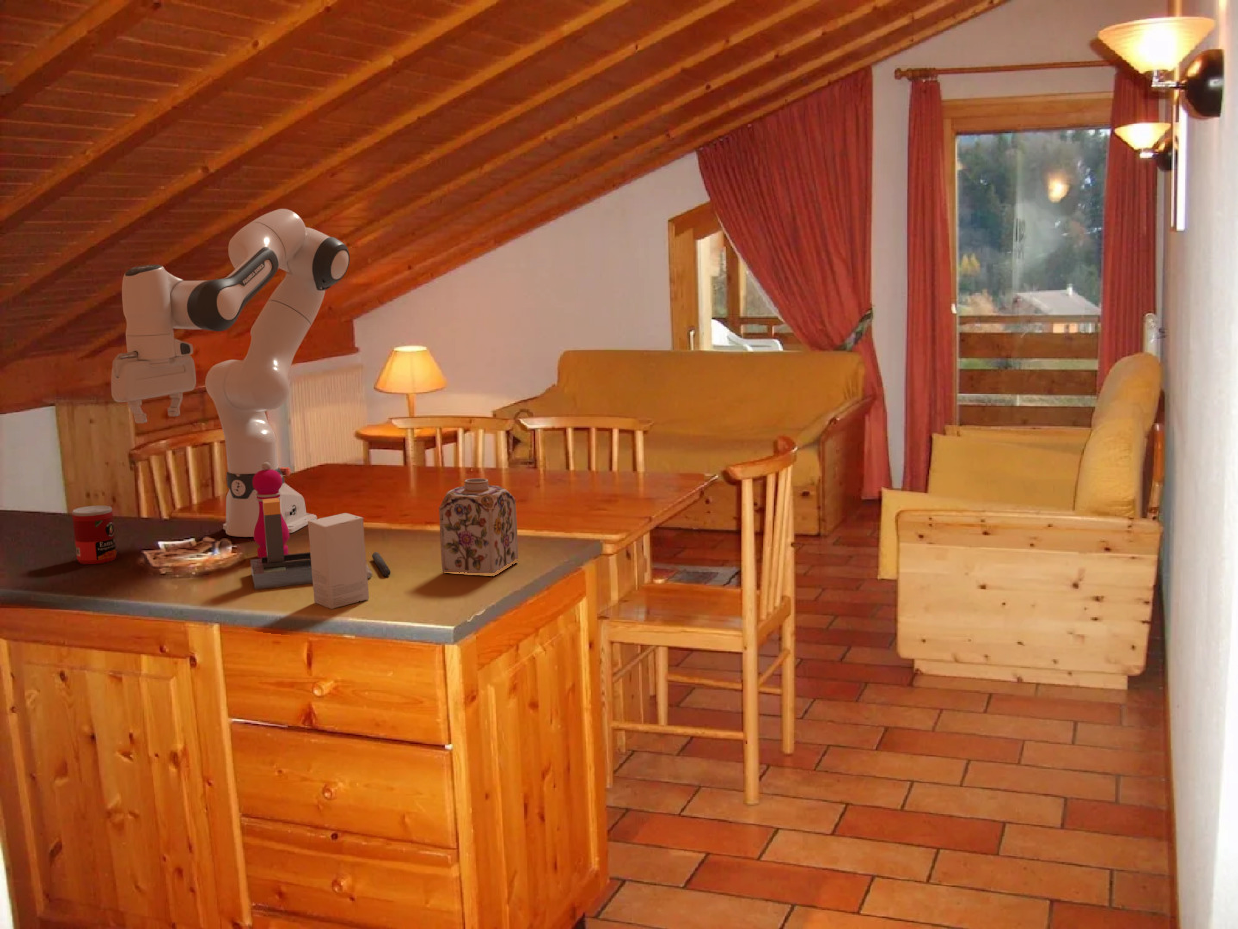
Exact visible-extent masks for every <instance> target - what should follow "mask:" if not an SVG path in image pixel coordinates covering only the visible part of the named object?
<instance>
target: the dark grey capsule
mask: <svg viewBox="0 0 1238 929" xmlns="http://www.w3.org/2000/svg"><path fill="white" fill-rule="evenodd" d="M371 558H372V559H373V561H374V563H375V565H376V566H377V567H378V570H380V572H381V574H382V576H384V577H389V576H390V575H391V572H392V571H391V570H390V568H389V566H388V564H387V563H386V562H385V560H384V559H383V557H382V556H381V554H380V552H377V551H375V552H373V553H372V555H371ZM366 566H367V579H371V577H372V576H373V572H372V571H371V569H370V567H369V566H368V563H366Z"/></svg>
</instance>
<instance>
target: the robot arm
mask: <svg viewBox="0 0 1238 929" xmlns="http://www.w3.org/2000/svg"><path fill="white" fill-rule="evenodd" d="M227 252H228V257H229V260H230V263H231V264H232V266H233V268H234V269H233V271H232V272H231V273H230V274H228V275H227V276H226V277H224V278H219V279H218V278H217V279H216V278H215V279H208V280H184V279H182V278H180V277H178V276H175V275H173V274H171V273H170V272H168V271H167V270H166V269H165V267H164V266H163V265H160V264H145V265H140V266H135V267H131V268H129V269H128V270H127V271H125V272H124V274H123V278H122V283H121V284H122V285H121V298H122V299H121V301H122V310H123V311H122V312H123V316H124V317H125V321H126V329H125V339H126V340H125V342H126V350H127V352H121V353H118V354H117V355H116V356H115V357H114V360H112V369H111V377H110V379H111V380H110V383H111V384H110V386H111V388H110V389H111V390H110V391H111V397H112V399H113V400H114V401H115V402H117V403H127V404H128V407H129V409H130V411H131V413H132V414H133V417H134V418H133V419H134V423H135V424H145V423H147V422H148V418H147V415H148V414H147V413H145V412H143V410H142V407H141V406H142V405H143V401H142V400H146V399H147V400H148V399H152V398H158V397H164V396H168V395H169V398H170V399H171V400H170V406H169V407H167V415H168V417H178V416H180V415H181V410H180V407H181V404H182V401H183V399H184V395H183V393H185V392H190V391H193V390H195V388H196V385H197V376H196V374H197V373H196V367H195V366H196V365H195V361H194V359H193V357H192V356H191V355H192V354H194V347H193V344H192V343H190V342H186V341H183V340H180V339H177V338H175V333H174V332H175V331H174V329H178V330H179V329H180V330H184V329H185V330H205V331H211V332H213V331H214V332H223V331H224V332H225V331H226V330H229V329H230V328H231V327H232V326H234V324H235V323H236V322H237V320H238V319H239V316H240V315H241V312H242V311H243V309H244V308H245V307H246V305H247V304H248V303H249V302H250V300H252V299H253V298H254V297H255V296H256V295H257V294H258V293H259V292H260V291H261V290H262V289H263V288H264V287H265V286H266V285H267V284H268V283H269V282H270V281H271V280H272V279H273V278H274V276H275V275H276V273H277V272H278V269H280V270H282V271H284V272H285V273H286V274H285V276H284V278H283V279H282V280H281V282H280V283H278V285H277V286H276V288H275V289H274V291H273V292H272V293H271V295H270V297H269V298H268V300H267V301H266V303H265V304H264V306H263V308H262V310H261V311H260V312H259V315H258V316H257V318H256V319H255V321H254V323H253V325H252V326H251V329H250V337H251V340H250V344H249V347H248V350H247V352H246V353H247V354H246V356H245V357H244V359H242V360H241V359H240V360H239V359H228V360H224V361H221V362H219V363H216V364H215V365H213V366H212V367H211V368H210V369H209V370H208V372H207V374H206V376H205V381H204V382H205V383H204V384H205V389H206V393H207V395H208V396H209V397H210V398H211V400H212V402H213V403H214V406H215V409H216V411H217V412H216V413H217V415H218V418H219V421H220V425H221V429H222V431H223V437H224V441H225V449H226V460H227V461H226V462H227V471H226V478H225V479H226V486H227V489H228V492H227V494H226V497H225V499H226V500H225V523H223V524H222V527H223V530H224V531H225V534H226V535H228V536H232V537H240V538H241V537H243V538H248V537H251V538H252V537H253V538H254V530H255V526H256V523H257V520H258V517H259V501H257V500H256V498H257V496H256V494H257V493H258V492H257V491H256V490H255V489H254V487H253V482H252V481H253V477H254V475H255V474H256V473H257V472H259V471H261V470H263V469H262V464H263V463H264V462H268V463H269V464H270V465H271V467H270V469H271V470H275V471H277V472H278V473H279V474H280V475H281V477H282V486H281V488H280V489H279V492H281V494H280V496H281V498H280V499H279V501H280V510H281V514H282V517H283V519H284V521H285V522H286V524H287V527H288V529H289V534H293V533H294V532H296V531H298V530H300V529H302V528H304V527H306V526H308V521H310V520H315V519H318V517H317V515H316V514H314V513H309V512H307V509H306V503H305V498H304V497H303V495H302V494H300V493H299V492H298V491H296V490H295V489H294V488H292V487H290V485H288V484H287V483H286V482H285V481H286V480H285V478H284V476H285V477H289V476H290V475H291V471H292V470H291V468H290V467H289V466H288V467H283V466H281V467H279V459H278V446H277V437H276V433H275V431H274V429H273V428H272V427H271V424H270V422H269V421H268V418H267V414H266V412H268V411H272V410H276V409H278V408H280V407H281V406H282V405H284V403H285V402H286V401H287V399H288V398H289V394H290V381H289V375H290V371H291V368H292V367H291V366H292V364H293V360H294V358H295V355H296V353H297V351H298V349H299V347H300V346H301V345H302V343H303V340H304V338H305V337H306V335H307V333H308V332H309V331H310V328H311V326H312V325H313V323H314V322H315V319H316V317H317V315H318V313H319V310H320V308H321V306H322V303H323V301H324V298H325V295H326V291H327V290H328V289H330V288H331V287H332V286H334V285H335V284H337V283H339V281H341V280H342V279H343V278H344V277H345V275H346V273H347V271H348V269H349V266H350V261H351V260H350V259H351V257H350V252H349V248H348V246H347V245H346V244H345V243H343V241H341V240H339V239H338V238H336V237H333V236H330V235H328V234H326V233H323V232H321V231H319V230H316V229H315V228H311V227H306V225H305V222H304V221H303V219H302V217H300V215H298V214H297V213H296V212H294V211H293V210H290V209H288V208H278V209H276V210H272V211H269V212H267V213H265V214H263V215H260V216H259V217H257V218H255V219H254V220H252V221H250V222H249V223H247V224H246V225H244V226H243V227H242V228H240V229H239V230H238V231H237V232H235V234H234V235H233V236H232V237H231V238H230V240H229V243H228V251H227Z"/></svg>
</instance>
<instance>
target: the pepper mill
mask: <svg viewBox="0 0 1238 929" xmlns="http://www.w3.org/2000/svg"><path fill="white" fill-rule="evenodd" d="M270 467H271V465H270V464H269V463H268V462H264V463H263V464H262V469H263V470H261V471H259V472H257V473H256V474H255V475H254V477H253V481H252V482H253V487H254V489H255V490H256V491H257V492H258V493H257V494H256V496H257V498H256V500H257V501H259V517H258V520H257V523H256V526H255V530H254V537H253V540H254V542H255V543H256V544H257V545H258V548H257V557H258V559H261V557H266V556H267V551H266V538H265V525H264V513H263V500H262V499H272V498H279V499H280V498H281V496H280V494H281V492H279V489H280V488H281V486H282V477H281V475H280V474H279V473H278V472H277V471H275V470H271V469H270ZM281 523H282V536H283V549H284V555H286V554H289V546H288V545H286V543H287V542H288V540H289V538H290V533H289V529H288V527H287V524H286V522H285V521H284V519H283V517H282V514H281Z"/></svg>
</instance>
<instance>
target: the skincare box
mask: <svg viewBox="0 0 1238 929" xmlns="http://www.w3.org/2000/svg"><path fill="white" fill-rule="evenodd" d="M307 528H308V540H309V552H310V554H311V566H312V579H313V583H312V589H313V599H314V600H313V602H314V603H315V604H317V605H320V606H323V607H324V608H328V609H330V610H334V609H337V608H340V607H345V606H347V605H351V604H355V603H360V602H364V601H367V600H369V599H370V595H369V594H370V593H369V582H368V578H367V566H368V565H367V566H366V564H367V556H366V544H365V543H366V542H365V541H366V540H365V529H364V528H365V527H364V517H362V516H358V515H354V514H352V513H348V512H343V513H339V514H334V515H330V516H326V517H325V516H324V517H321V518H317V519H315V520H310V521H308V524H307ZM359 601H360V602H359Z"/></svg>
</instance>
